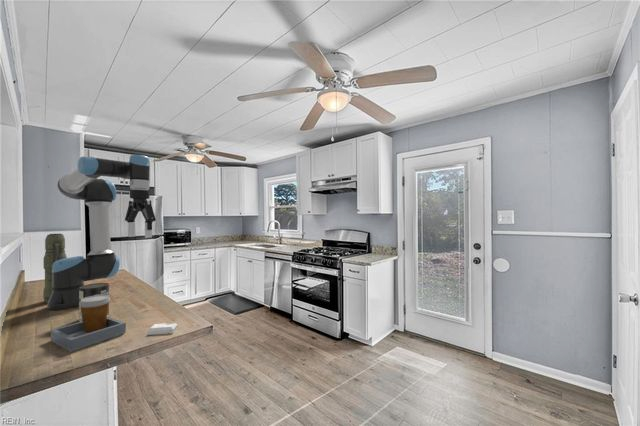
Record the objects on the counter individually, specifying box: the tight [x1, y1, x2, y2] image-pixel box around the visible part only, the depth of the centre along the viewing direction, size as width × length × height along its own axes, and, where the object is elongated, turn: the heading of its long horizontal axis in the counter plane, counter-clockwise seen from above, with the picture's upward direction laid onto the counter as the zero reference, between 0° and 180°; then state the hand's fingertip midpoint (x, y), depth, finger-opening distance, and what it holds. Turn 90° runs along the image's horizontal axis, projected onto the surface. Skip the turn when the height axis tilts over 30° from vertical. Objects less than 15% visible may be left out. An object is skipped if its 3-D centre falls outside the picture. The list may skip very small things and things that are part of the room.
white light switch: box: [146, 322, 179, 336], centre depth 107 cm, size 5×9×3 cm, turn 99°
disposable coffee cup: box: [79, 295, 112, 333], centre depth 107 cm, size 10×10×12 cm
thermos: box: [42, 233, 68, 304], centre depth 147 cm, size 9×12×35 cm
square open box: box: [50, 316, 127, 352], centre depth 103 cm, size 16×16×4 cm
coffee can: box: [78, 282, 110, 322], centre depth 122 cm, size 10×10×14 cm
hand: (139, 237), depth 126 cm, fingers open, 13 cm apart
